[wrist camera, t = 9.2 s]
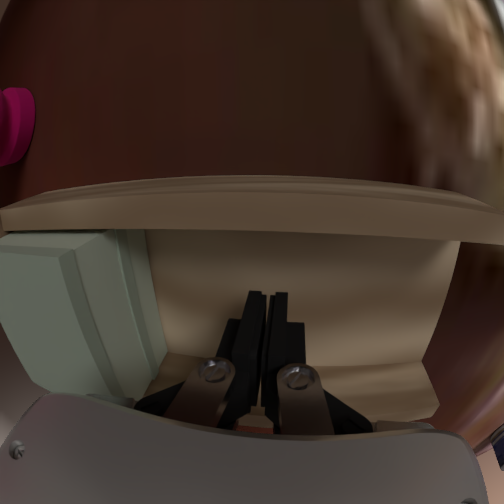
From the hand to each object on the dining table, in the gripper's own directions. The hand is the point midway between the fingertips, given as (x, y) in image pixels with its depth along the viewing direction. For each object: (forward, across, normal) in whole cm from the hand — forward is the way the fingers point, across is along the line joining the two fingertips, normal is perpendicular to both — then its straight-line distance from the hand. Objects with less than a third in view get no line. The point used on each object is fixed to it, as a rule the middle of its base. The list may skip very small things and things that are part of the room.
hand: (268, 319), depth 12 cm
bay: (+4, +3, 0) cm, 4 cm away
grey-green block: (+2, +10, 0) cm, 11 cm away
